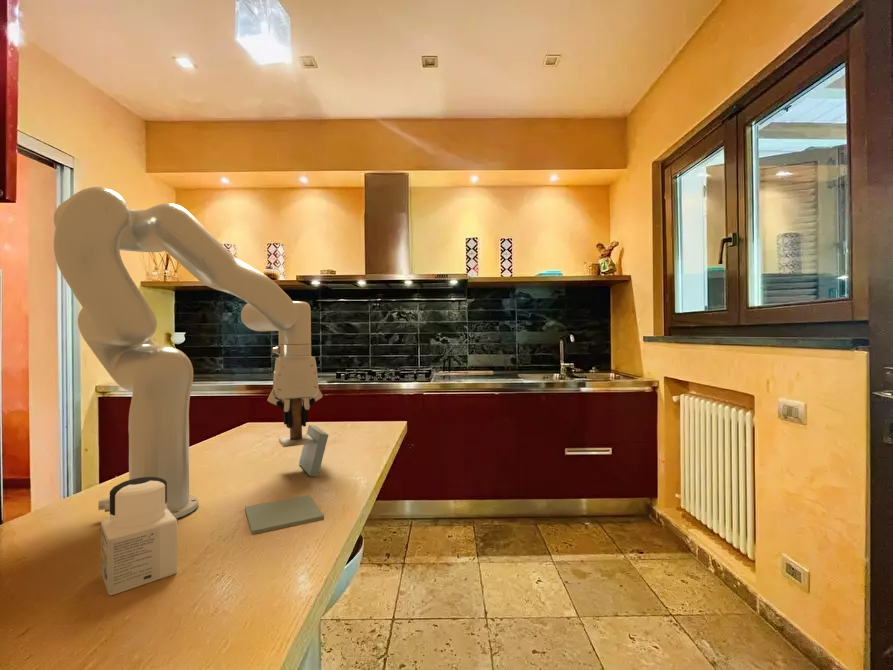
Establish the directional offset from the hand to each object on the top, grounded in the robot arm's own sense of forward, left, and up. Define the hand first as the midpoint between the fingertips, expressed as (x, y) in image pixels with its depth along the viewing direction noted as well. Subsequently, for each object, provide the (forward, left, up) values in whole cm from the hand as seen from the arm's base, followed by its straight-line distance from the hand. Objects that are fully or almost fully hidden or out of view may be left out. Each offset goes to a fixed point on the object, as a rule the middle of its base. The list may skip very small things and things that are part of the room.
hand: (296, 425), depth 106 cm
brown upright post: (0, 0, -4) cm, 4 cm away
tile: (+3, 0, -11) cm, 12 cm away
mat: (-7, -25, -11) cm, 29 cm away
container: (-28, -36, -12) cm, 47 cm away
